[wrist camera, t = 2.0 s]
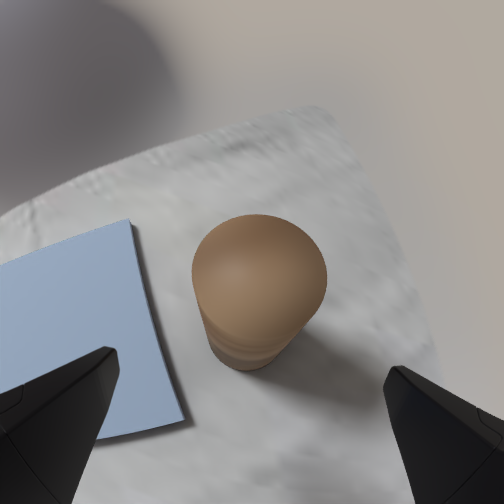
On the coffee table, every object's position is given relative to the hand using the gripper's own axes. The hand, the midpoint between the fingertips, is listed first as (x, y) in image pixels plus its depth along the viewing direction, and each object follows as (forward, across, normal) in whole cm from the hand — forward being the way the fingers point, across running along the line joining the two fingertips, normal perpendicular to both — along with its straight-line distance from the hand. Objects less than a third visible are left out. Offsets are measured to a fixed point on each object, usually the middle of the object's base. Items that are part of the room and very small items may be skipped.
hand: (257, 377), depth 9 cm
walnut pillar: (+10, 0, +5) cm, 12 cm away
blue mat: (+9, +14, +7) cm, 18 cm away
